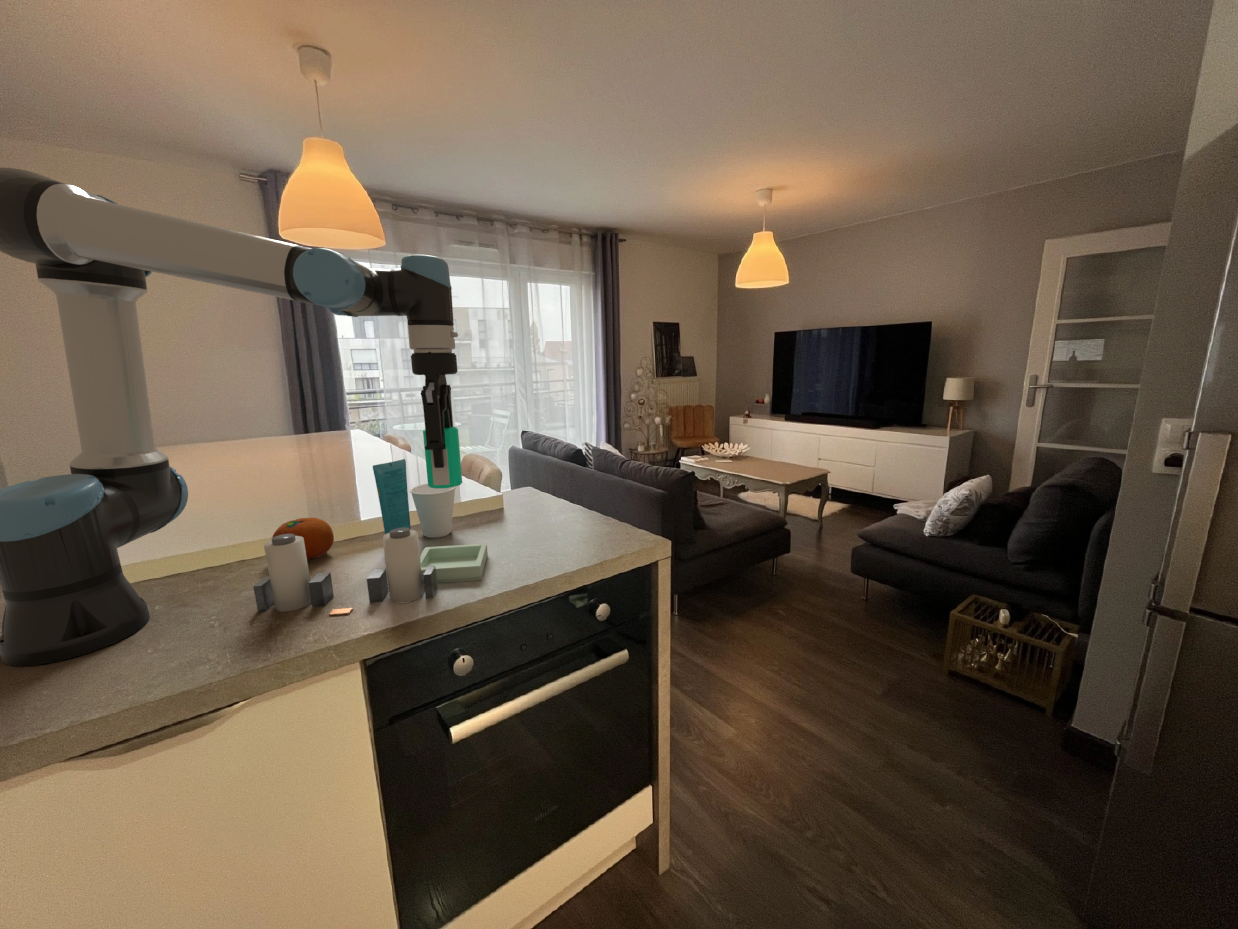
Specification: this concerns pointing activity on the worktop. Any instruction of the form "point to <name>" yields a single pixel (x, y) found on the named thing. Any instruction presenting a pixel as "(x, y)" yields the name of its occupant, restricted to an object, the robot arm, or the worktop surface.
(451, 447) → the candle
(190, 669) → the worktop surface
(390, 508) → the tube
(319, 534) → the fruit
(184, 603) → the worktop surface
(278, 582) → the cylinder
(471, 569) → the tray
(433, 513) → the cup
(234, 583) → the worktop surface
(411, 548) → the fuse right
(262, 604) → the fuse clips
